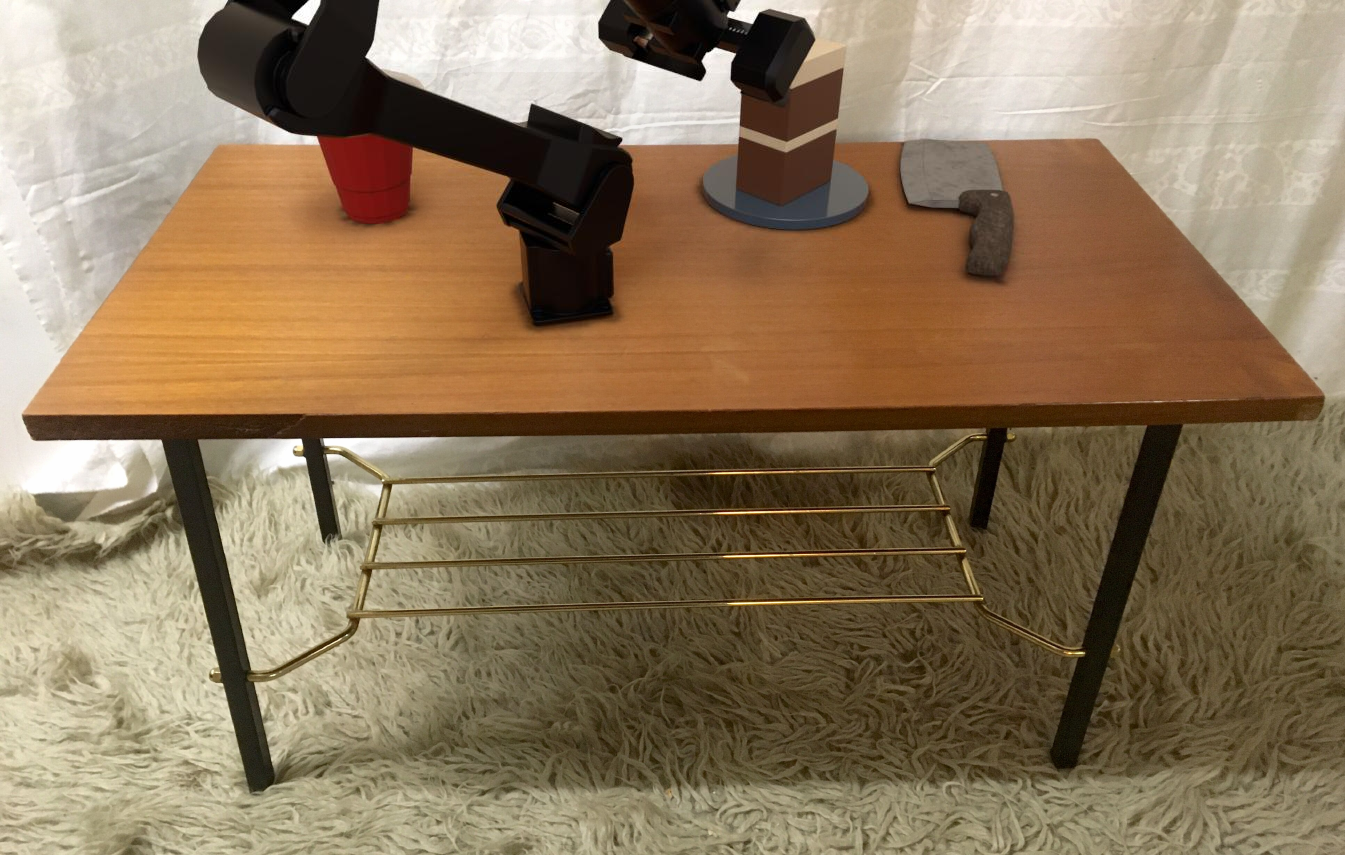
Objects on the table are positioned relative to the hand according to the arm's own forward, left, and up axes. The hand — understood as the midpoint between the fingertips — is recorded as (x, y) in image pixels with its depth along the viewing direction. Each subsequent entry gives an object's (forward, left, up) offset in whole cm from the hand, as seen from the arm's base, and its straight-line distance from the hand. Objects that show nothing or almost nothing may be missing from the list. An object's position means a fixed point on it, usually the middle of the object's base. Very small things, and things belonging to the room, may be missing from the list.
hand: (743, 89), depth 91 cm
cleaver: (+21, -3, -12) cm, 25 cm away
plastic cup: (-32, +10, -12) cm, 35 cm away
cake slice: (+6, +3, -11) cm, 13 cm away
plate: (+6, +4, -12) cm, 14 cm away
